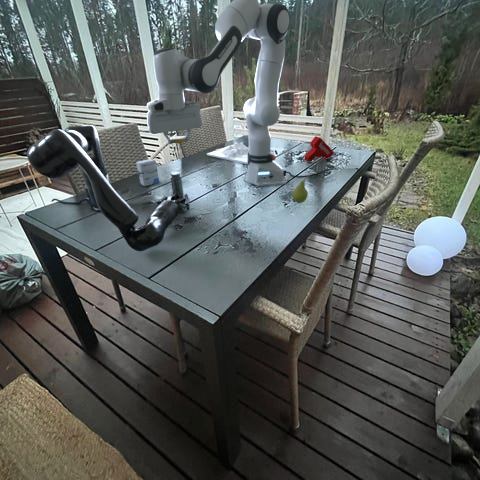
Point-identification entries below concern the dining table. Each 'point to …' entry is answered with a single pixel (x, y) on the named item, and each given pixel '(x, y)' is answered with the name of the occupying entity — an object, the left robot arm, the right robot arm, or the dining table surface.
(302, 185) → the fruit
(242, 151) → the relief map
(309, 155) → the toy gun
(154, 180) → the ink box
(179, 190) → the dark grey cylinder
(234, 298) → the dining table surface
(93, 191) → the left robot arm
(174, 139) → the lid
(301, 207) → the dining table surface
